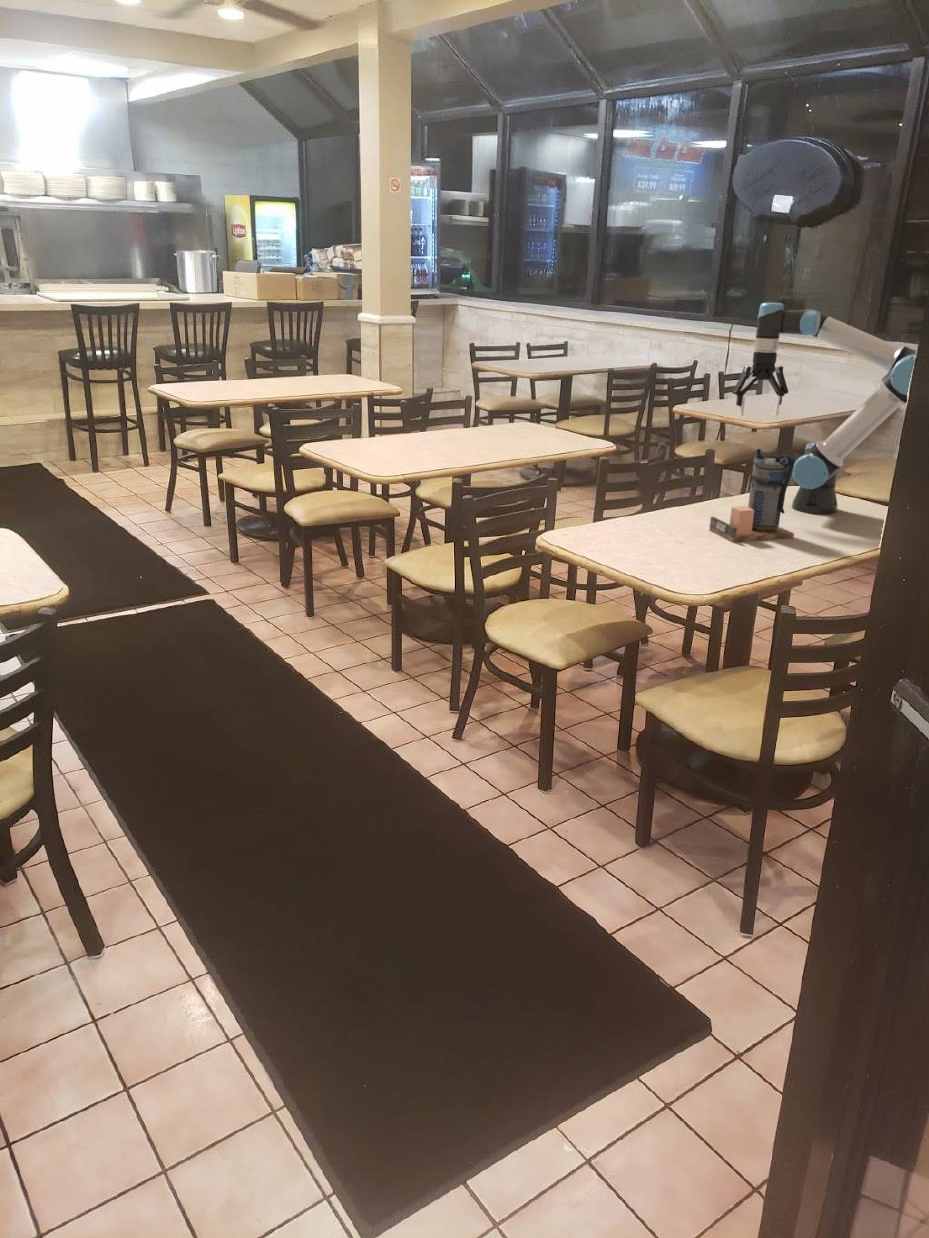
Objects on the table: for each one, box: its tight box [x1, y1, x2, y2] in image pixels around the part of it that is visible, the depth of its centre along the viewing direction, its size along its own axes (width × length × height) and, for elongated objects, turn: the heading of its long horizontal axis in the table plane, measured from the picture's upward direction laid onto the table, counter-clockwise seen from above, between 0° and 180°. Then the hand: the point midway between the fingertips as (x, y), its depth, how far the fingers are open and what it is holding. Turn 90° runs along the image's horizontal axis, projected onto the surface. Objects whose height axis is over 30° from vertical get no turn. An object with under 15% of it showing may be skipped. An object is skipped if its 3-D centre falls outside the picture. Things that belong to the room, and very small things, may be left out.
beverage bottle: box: [747, 448, 796, 531], centre depth 302 cm, size 10×13×25 cm
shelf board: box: [708, 516, 795, 543], centre depth 305 cm, size 22×14×4 cm, turn 106°
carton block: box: [729, 505, 754, 536], centre depth 300 cm, size 5×5×8 cm
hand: (757, 415), depth 327 cm, fingers open, 13 cm apart
